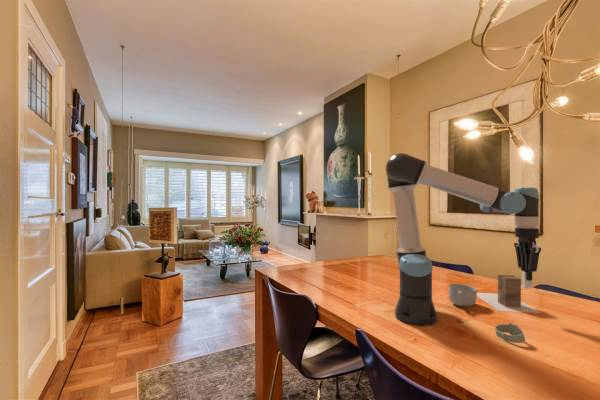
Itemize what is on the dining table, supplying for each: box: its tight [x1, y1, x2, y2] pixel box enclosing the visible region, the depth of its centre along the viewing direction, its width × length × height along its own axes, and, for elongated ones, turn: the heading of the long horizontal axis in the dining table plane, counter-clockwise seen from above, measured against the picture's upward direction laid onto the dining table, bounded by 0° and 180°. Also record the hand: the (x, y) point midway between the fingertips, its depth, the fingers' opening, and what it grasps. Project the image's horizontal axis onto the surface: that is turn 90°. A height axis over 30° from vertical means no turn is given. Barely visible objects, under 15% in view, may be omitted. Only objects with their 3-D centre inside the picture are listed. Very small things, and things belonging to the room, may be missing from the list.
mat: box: [477, 292, 542, 314], centre depth 133 cm, size 24×16×1 cm, turn 173°
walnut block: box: [497, 274, 522, 308], centre depth 129 cm, size 6×6×12 cm
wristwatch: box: [494, 322, 526, 344], centre depth 99 cm, size 9×6×5 cm
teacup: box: [448, 283, 478, 308], centre depth 129 cm, size 14×11×8 cm
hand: (527, 288), depth 117 cm, fingers closed
